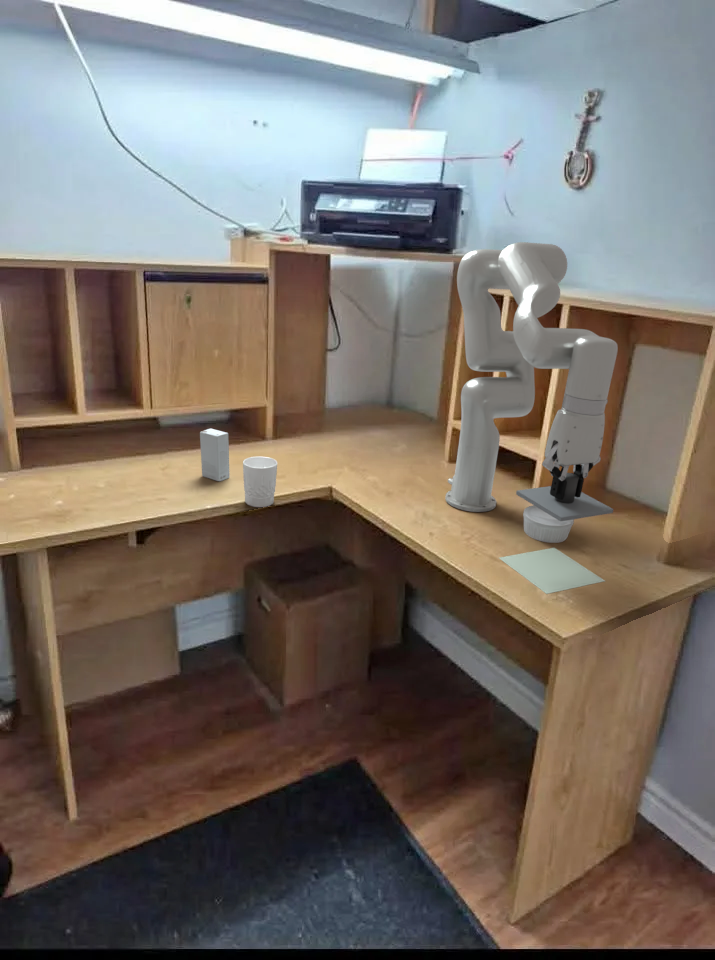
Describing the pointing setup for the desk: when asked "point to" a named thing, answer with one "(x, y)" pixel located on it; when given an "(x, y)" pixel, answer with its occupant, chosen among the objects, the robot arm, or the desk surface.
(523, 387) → the robot arm
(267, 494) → the white cup
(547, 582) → the mat
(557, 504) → the lid
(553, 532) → the ramekin
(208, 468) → the skincare box
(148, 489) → the desk surface
